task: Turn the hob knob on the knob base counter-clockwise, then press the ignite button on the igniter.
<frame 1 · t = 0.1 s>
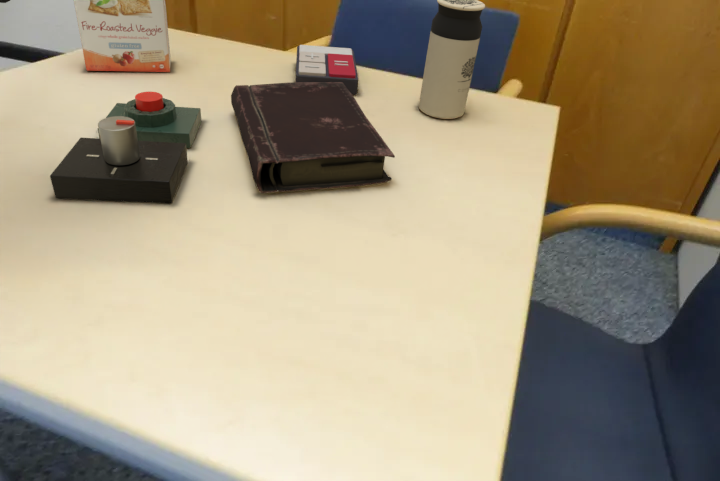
hob knob: (119, 139, 65), point 5 cm above the table, hinge at 0.0°
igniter: (153, 132, 80), on the table
cracker box: (130, 68, 100), on the table
ignite button: (149, 102, 77), point 4 cm above the table, slide at 0.1 cm
travel mug: (440, 112, 97), on the table
diary: (306, 148, 80), on the table
calculator: (325, 80, 104), on the table
knob base: (126, 180, 68), on the table
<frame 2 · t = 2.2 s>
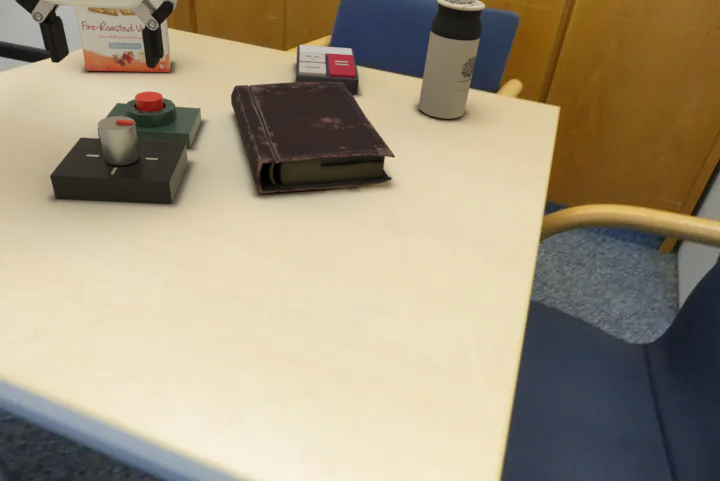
hand: (107, 61, 60), 15 cm above the table, tool pointing down, fingers open, 9 cm apart
nothing on the table moved.
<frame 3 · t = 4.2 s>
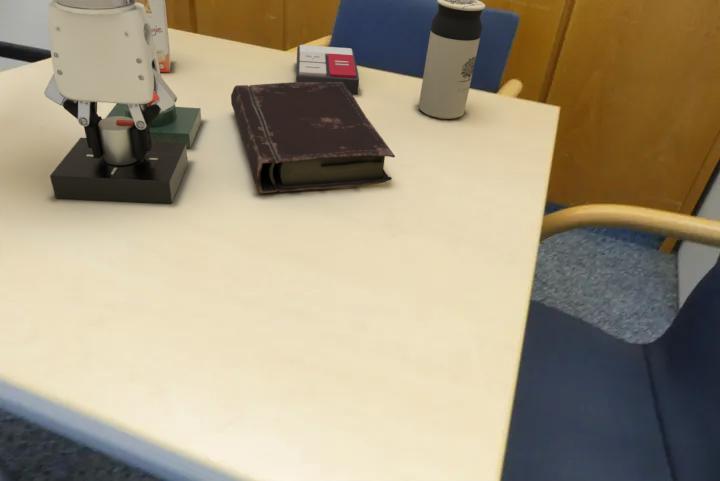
hand: (121, 152, 66), 4 cm above the table, tool pointing down, fingers closed on hob knob, 4 cm apart
hob knob: (119, 139, 65), point 5 cm above the table, hinge at 0.1°, touching gripper
everything else where it was.
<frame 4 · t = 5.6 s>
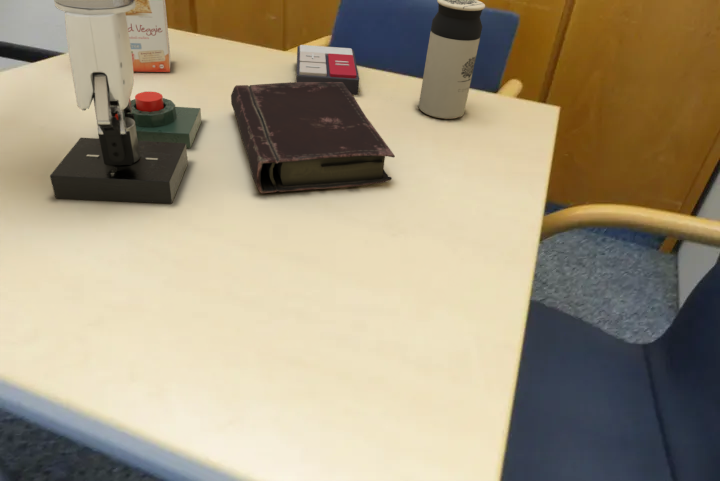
hand: (121, 153, 66), 4 cm above the table, tool pointing down, fingers closed on hob knob, 4 cm apart
hob knob: (119, 139, 65), point 5 cm above the table, hinge at 99.6°, touching gripper
everything else where it was.
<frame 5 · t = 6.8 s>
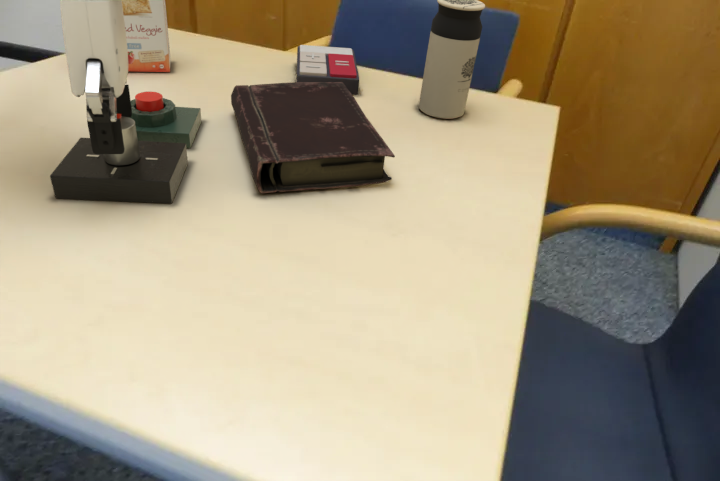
hand: (114, 133, 65), 6 cm above the table, tool pointing down, fingers open, 9 cm apart
hob knob: (119, 139, 65), point 5 cm above the table, hinge at 97.8°
everything else where it was.
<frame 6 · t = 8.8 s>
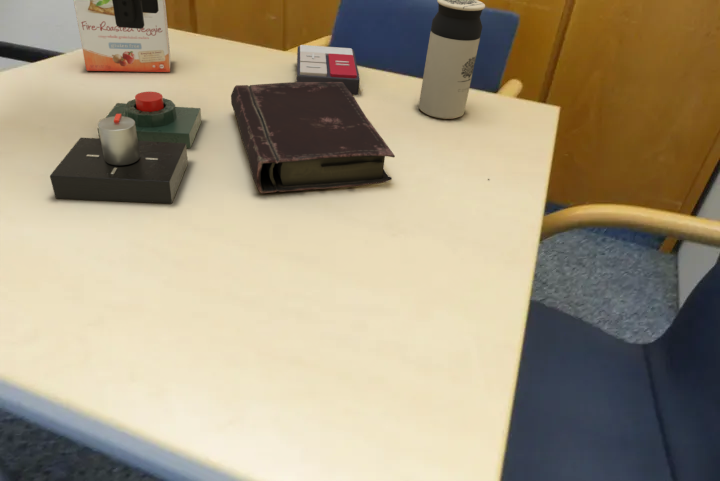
hand: (138, 18, 71), 16 cm above the table, tool pointing down, fingers open, 6 cm apart
nothing on the table moved.
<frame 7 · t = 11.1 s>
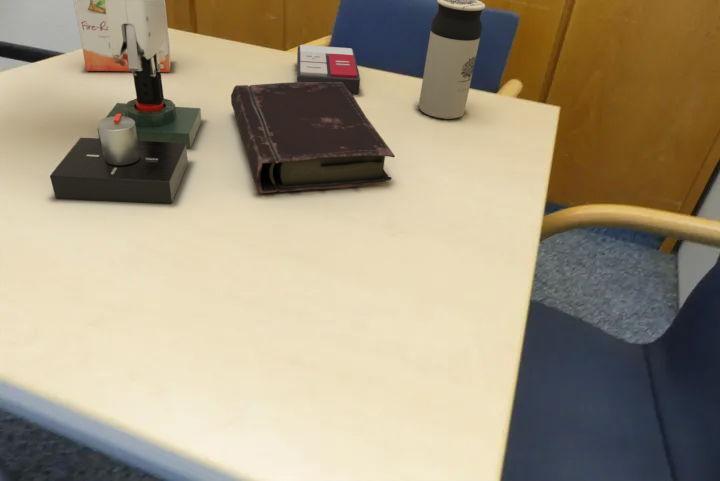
hand: (150, 101, 77), 5 cm above the table, tool pointing down, fingers closed
ignite button: (150, 107, 78), point 4 cm above the table, slide at -0.7 cm, touching gripper
everything else where it was.
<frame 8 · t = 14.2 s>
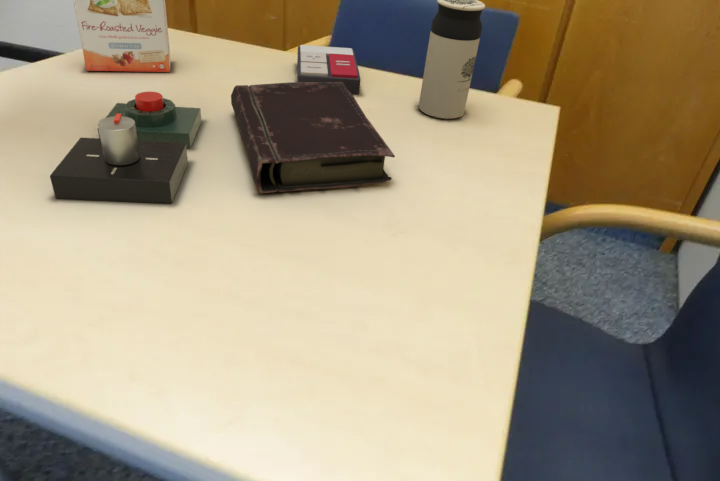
ignite button: (149, 102, 77), point 4 cm above the table, slide at 0.1 cm
everything else where it was.
at the end: hob knob at +98° (first picture: +0°); ignite button pushed in 1.1 cm at the most during the clip, back to where it started at the end; ignite button slide at 0.1 cm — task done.
